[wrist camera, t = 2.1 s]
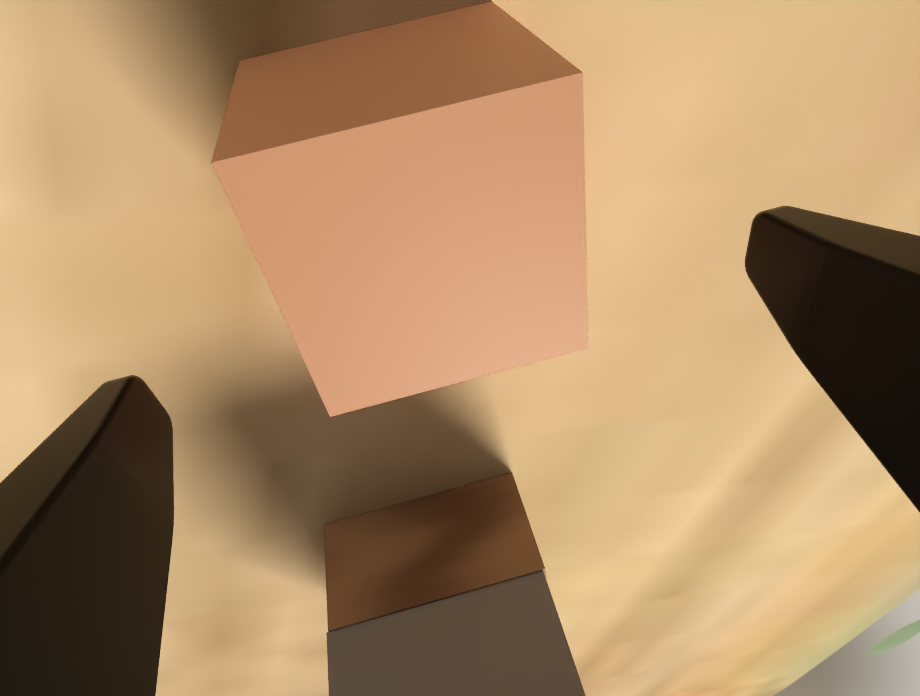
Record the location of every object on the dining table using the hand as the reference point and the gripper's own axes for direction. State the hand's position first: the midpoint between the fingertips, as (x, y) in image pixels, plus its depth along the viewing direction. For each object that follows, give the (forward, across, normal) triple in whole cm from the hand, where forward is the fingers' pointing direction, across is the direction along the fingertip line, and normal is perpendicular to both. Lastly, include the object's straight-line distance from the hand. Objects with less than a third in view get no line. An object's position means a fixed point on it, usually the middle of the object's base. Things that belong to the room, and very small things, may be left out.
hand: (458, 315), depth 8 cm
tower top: (+2, +2, +16) cm, 16 cm away
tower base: (+6, +2, +16) cm, 17 cm away
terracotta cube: (+6, 0, 0) cm, 6 cm away
